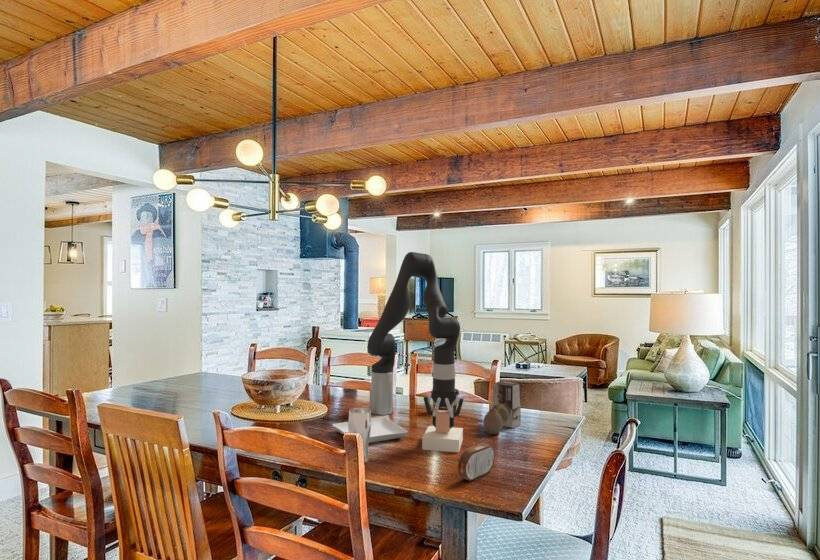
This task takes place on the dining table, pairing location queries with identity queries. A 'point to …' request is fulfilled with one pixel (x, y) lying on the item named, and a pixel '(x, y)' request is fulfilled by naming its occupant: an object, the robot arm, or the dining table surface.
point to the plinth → (442, 440)
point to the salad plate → (377, 429)
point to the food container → (452, 403)
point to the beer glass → (361, 426)
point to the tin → (476, 461)
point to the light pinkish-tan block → (442, 421)
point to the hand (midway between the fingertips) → (443, 427)
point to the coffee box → (508, 402)
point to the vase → (492, 422)
